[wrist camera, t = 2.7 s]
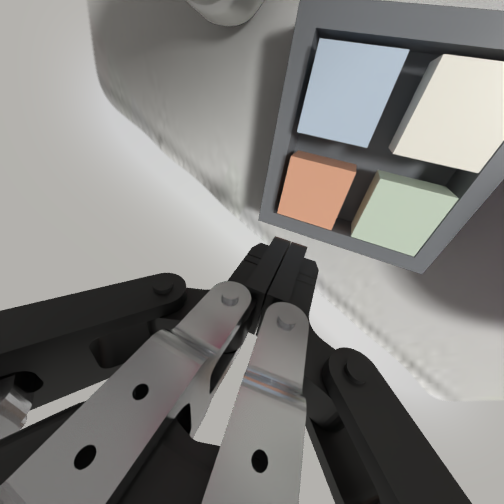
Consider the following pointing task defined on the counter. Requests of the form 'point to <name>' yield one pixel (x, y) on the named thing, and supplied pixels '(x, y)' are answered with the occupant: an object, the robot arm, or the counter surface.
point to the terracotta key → (315, 188)
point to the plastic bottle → (226, 10)
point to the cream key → (454, 114)
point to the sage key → (401, 212)
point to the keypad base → (377, 153)
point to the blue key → (349, 90)
